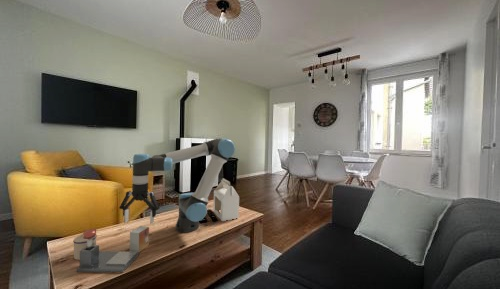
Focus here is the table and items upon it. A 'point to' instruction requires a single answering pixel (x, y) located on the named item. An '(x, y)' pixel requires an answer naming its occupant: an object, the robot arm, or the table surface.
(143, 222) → the table surface
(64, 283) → the table surface
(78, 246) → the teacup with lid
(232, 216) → the gable box
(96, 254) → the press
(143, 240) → the small box
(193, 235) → the table surface
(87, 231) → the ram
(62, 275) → the table surface
